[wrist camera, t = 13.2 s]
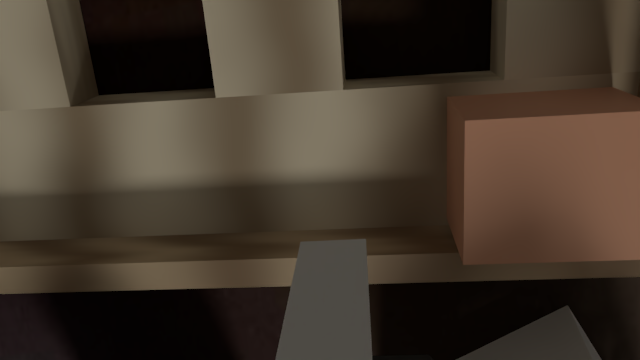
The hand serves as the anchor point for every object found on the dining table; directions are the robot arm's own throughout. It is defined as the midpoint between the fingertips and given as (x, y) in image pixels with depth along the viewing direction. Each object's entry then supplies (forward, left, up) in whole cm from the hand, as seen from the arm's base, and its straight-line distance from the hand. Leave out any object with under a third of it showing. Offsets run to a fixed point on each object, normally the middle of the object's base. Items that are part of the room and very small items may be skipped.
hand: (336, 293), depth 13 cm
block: (+7, 0, -10) cm, 12 cm away
